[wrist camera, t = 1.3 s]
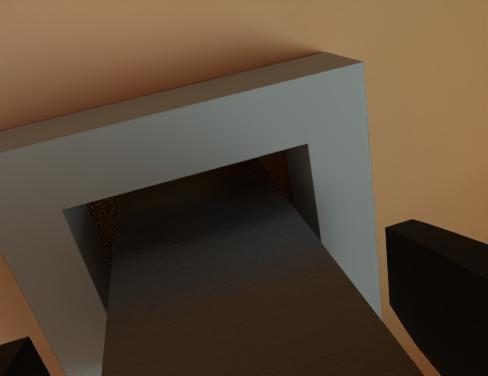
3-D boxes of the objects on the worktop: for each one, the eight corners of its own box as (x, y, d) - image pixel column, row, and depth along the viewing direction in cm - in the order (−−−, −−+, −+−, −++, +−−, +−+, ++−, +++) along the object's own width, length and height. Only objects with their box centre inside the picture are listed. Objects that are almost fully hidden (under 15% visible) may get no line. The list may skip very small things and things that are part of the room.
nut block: (255, 156, 11) (464, 426, 4) (277, 267, 13) (456, 605, 6) (118, 193, 11) (82, 571, 4) (158, 303, 12) (188, 721, 5)
